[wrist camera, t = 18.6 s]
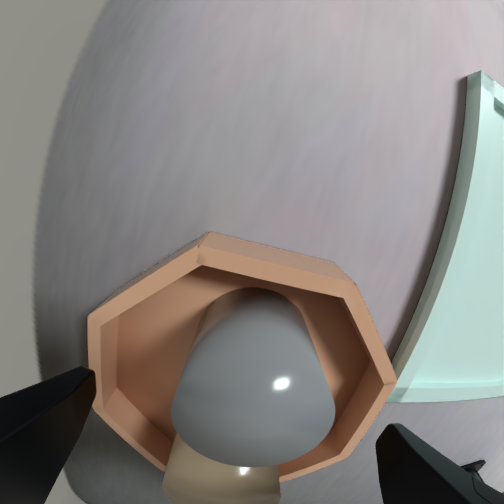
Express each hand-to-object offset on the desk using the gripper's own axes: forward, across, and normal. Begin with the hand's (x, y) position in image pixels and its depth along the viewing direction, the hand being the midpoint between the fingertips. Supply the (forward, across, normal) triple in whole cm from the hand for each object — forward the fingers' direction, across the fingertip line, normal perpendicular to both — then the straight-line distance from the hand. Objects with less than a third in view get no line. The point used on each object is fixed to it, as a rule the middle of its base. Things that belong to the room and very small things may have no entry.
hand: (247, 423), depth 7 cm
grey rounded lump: (+5, 0, 0) cm, 5 cm away
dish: (+6, 0, +3) cm, 6 cm away
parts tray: (+6, -16, -6) cm, 18 cm away
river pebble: (+5, 0, +5) cm, 7 cm away
